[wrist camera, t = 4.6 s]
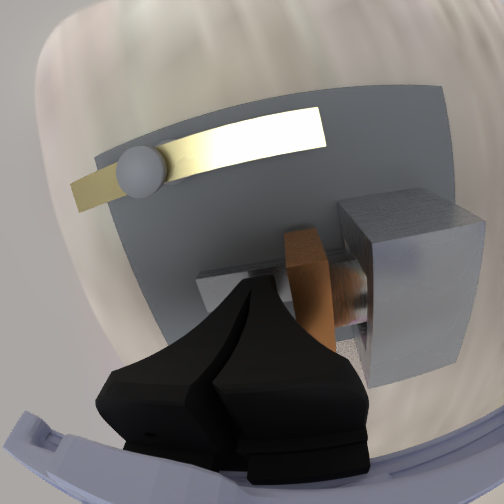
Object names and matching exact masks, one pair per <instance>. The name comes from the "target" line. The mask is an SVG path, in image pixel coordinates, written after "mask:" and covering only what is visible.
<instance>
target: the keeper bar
mask: <svg viewBox="0 0 504 504" xmlns="http://www.w3.org/2000/svg"><path fill="white" fill-rule="evenodd" d="M325 146H326V142H325V137H324V133H323V128H322V123H321V119H320V114H319V110H318V107H315V108H308V109H301V110H295V111H290V112H284V113H279V114H274V115H269V116H264V117H259V118H255V119H250V120H246V121H242V122H237V123H233V124H229V125H226V126H222V127H218V128H214V129H211V130H207V131H204V132H200V133H197V134H194V135H191V136H187V137H184V138H181V139H178V140H175V141H172V142H169V143H166V144H163V145H160V146H158V147H155V149H157V150H158V151H159V152H160V153H161V154H162V156H163V158H164V160H165V163H166V168H167V174H166V179H165V181H164V183H166V182H169V181H173V180H176V179H180V178H183V177H187V176H190V175H194V174H197V173H201V172H205V171H209V170H213V169H217V168H220V167H225V166H229V165H233V164H237V163H241V162H246V161H250V160H255V159H259V158H264V157H269V156H274V155H279V154H284V153H289V152H295V151H301V150H306V149H312V148H319V147H325ZM117 163H118V162H116V163H114V164H112V165H109V166H107V167H105V168H103V169H100V170H98V171H96V172H94V173H92V174H89V175H87V176H85V177H83V178H81V179H79V180H77V181H75V182H73V183H71V184H70V185H71V188H72V192H73V195H74V198H75V201H76V204H77V207H78V210H79V213H80V212H83V211H85V210H88V209H90V208H93V207H96V206H98V205H101V204H104V203H106V202H109V201H112V200H115V199H117V198H120V197H123V196H126V195H127V194H126V193H125V192H124V191H123V190H122V189H121V188H120V186H119V184H118V181H117V178H116V166H117Z"/></svg>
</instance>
